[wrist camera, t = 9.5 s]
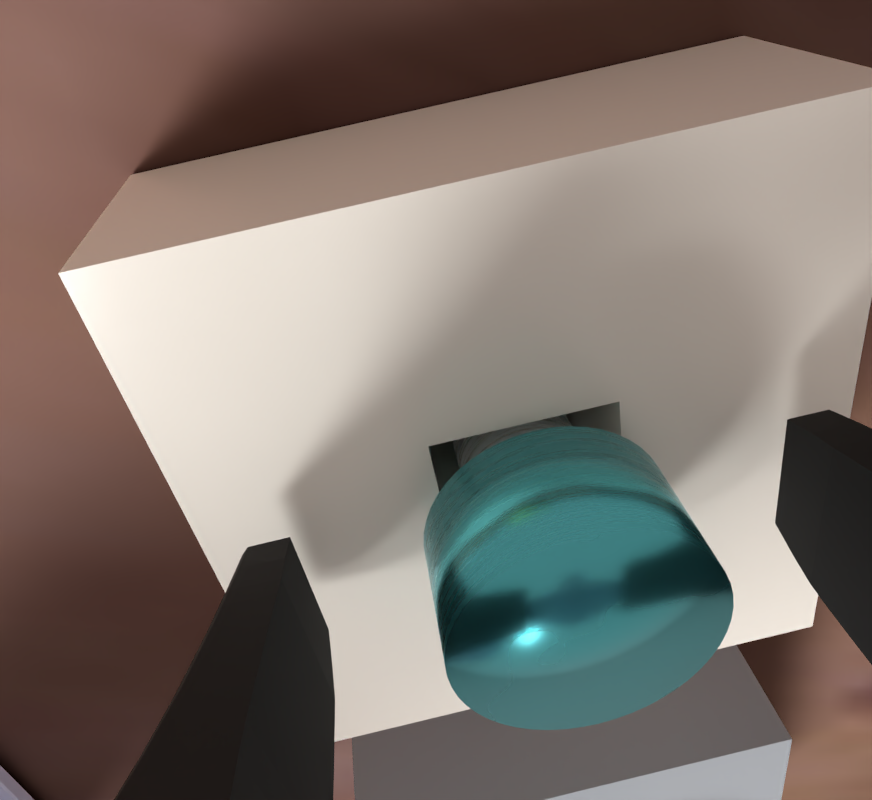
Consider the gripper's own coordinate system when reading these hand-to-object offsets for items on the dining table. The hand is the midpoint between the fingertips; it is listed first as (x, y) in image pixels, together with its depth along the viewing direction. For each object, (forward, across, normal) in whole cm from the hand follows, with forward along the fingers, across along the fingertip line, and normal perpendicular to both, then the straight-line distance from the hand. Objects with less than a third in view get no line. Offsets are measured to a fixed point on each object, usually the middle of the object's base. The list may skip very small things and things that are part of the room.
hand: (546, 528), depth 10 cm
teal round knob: (+4, 0, 0) cm, 4 cm away
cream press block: (+5, 0, 0) cm, 5 cm away
